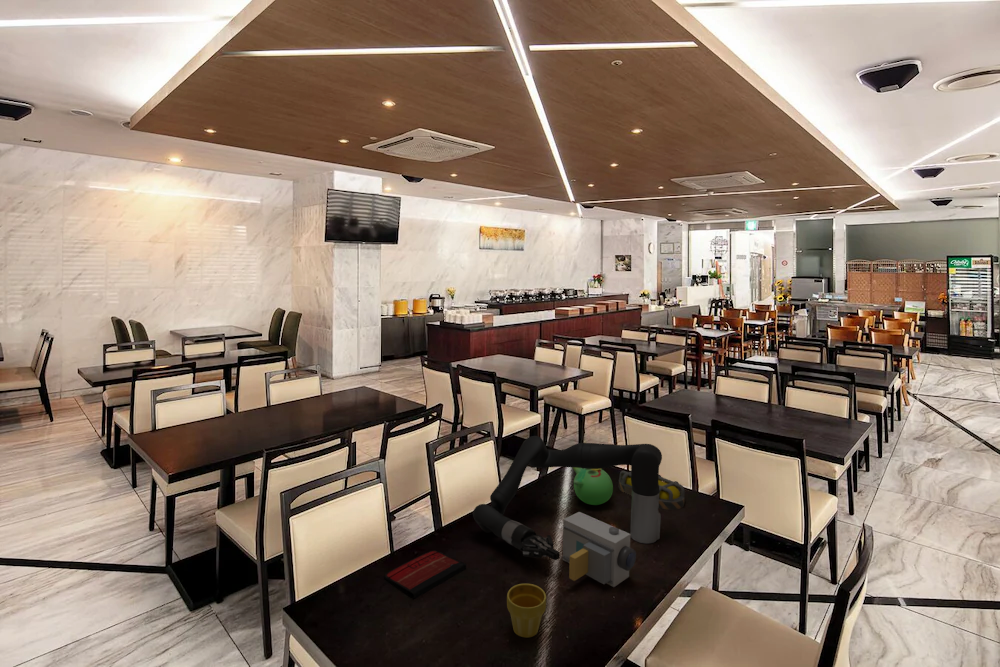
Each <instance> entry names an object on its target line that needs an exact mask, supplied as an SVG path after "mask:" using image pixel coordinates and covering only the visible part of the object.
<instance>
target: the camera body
mask: <svg viewBox="0 0 1000 667" xmlns="http://www.w3.org/2000/svg"><path fill="white" fill-rule="evenodd" d="M562 520H563V523H562V524H563V525H562V526H563V528H562V530H563V531H562V532H563V533H562V535H563V537H562V561H564V562H566V563H568V564H569V562H570V556H571V555H572V554H574V553H576V552H578V551H579V550H581V549H583V545H585V544H586V543H588V542H592V543H594V544H596V545H598V546H600V547H602V548H604V549H606V550H608V551H610V552H611V577H610V581H608V582H607V583H606V584H607V585H608V586H611V587H613V588H615V587H616V586H618V585H619V584H621V583H622V582H623V581H625V580H627V579H628V578H629V577H630V570H631V569H633V567H634V565H635V564H636V560H637V551H636V550H635V549H634V548H632V547H631V536H630V535H631V534H630V533H629V532H627V531H624V530H623V529H620V528H618V527H616V526H613V525H611V524H609V523H606V522H604V521H602V520H600V519H599V520H598V519H597V518H594V517H592V516H590V515H588V514H585V513H583V512H581V511H578V512H576V513H574V514H572V515H570V516H567V517H565V518H563V519H562Z"/></svg>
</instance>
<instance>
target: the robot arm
mask: <svg viewBox="0 0 1000 667" xmlns="http://www.w3.org/2000/svg"><path fill="white" fill-rule="evenodd" d="M662 459H663V454H662V451H661V450H660V448H659V447H657V446H656V445H653V444H651V443H637V444H636V443H635V444H611V443H596V442H594V443H593V442H578V443H576V444H573V445H571V446H568V447H567V448H564V449H548V448H547V446H546V444H545V442H544V440H543V439H542V438H541V437H540V436H538V435H531V436H529V437H527V438H525V439H524V441H523V442H522V444H521V445H520V446H519V449H518V451H517V453H516V455H515V457H514V459H513V461H512V463H511V465H510V467H508V470H507V471H506V473H505V475H504V476H503V478H502V479H501V481H500V482H499V483H498V485H497V486H496V487H495V488H494V490H493V491H492V493H491V495H490V496H489V498H490V499H489V500H490V504H491V505H489V504H487V503H480V504H478V505H477V506H475V508H474V509H473V512H472V517H473V520H474V521H475V523H476V524H477V525H478V526H479V528H480V529H481V530H482V531H483V532H484V533H487V534H488V533H489V534H490V533H493V534H494V535H495V536H496V537H497V538H499V539H502V540H503V541H505V542H506V543H507V544H508V545H510V546H512V547H514V548H515V549H517V550H518V551H519V550H520V551H521V552H522V557H526V558H537V559H543V557H544V558H545V557H548V558H550V559H552V560H554V561H557V560H559V559H560V558H561V556H560V551H558V550H556V549H554V542H553V539H552V536H551V535H550V534H548V535H546V537H543V536H542V535H537V533H536V531H535V530H534V529H533V528H530V527H529V526H527V525H524V524H523V523H521V522H518V521H516V520H513V519H511V518H509V517H507V516H505V512H506V510H507V506H509V504H510V503H511V501H512V500H513V498H514V497H515V495H516V494H517V493H518V490H519V488H520V485H521V484H522V483H521V482H522V479H523V477H524V474H525V471H526V469H527V467H528V466H530V467H531V468H532V467H533V468H539V469H540V468H541V469H543V468H545V469H546V468H572V467H575V468H582V469H584V468H587V469H601V468H602V469H608V468H612V467H617V466H630V472H631V483H632V496H631V502H630V503H631V505H630V506H631V507H630V508H631V509H630V530H629V531H630V533H629V534H631V535H630V539H632V540H633V541H635V542H637V543H640V544H653V543H655V542H656V541H658V540H660V535H661V519H662V517H661V512H659V508H658V506H659V484H658V478H659V475H660V474H659V472H660V471H659V470H660V465H661V463H662Z"/></svg>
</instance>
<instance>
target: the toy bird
mask: <svg viewBox="0 0 1000 667" xmlns="http://www.w3.org/2000/svg"><path fill="white" fill-rule="evenodd" d="M571 468H572V469H573V471H574V472H575V474H576V475H575V476H574V479H573V489H574V492H575V495H576V496H577V498H578V499H579V500H580V501H581V502H583V503H584V504H587V505H590V506H591V505H592V506H599V505H600V506H601V505H602V504H605V503H606V502H608V501H609V500H610V499H611V497H612V495H613V492H614V485H613V481H612V479H611V477H610V475H609V474H608V473H607V472H606V471H605V470H604V469H603V468H601V469H587V468H575V467H571Z"/></svg>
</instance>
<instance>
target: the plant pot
mask: <svg viewBox="0 0 1000 667" xmlns="http://www.w3.org/2000/svg"><path fill="white" fill-rule="evenodd" d="M546 607H547V593H546V592H545V591H544V590H543V589H542V588H541V587H540V586H538V585H536V584H532V583H519V584H515V585H513V586H512V587H510V589H509V590H508V591H507V594H506V608H507V611H508V612H509V614H510V617H511V618H510V620H511V624H512V628H513V629H512V630H513V632H514V633H515V634H516V636H518V637H522V638H532V637H535V636H536V635H537V634H538V632H539V630H540V629H539V628H540V625H541V620H542V616H543V614H544V613H545V611H546V609H547V608H546Z"/></svg>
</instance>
